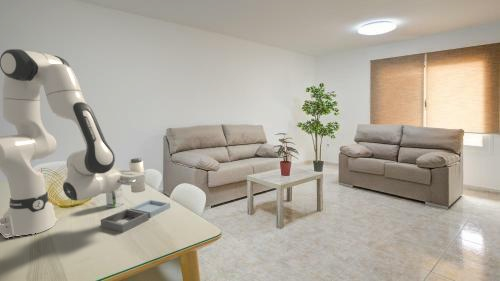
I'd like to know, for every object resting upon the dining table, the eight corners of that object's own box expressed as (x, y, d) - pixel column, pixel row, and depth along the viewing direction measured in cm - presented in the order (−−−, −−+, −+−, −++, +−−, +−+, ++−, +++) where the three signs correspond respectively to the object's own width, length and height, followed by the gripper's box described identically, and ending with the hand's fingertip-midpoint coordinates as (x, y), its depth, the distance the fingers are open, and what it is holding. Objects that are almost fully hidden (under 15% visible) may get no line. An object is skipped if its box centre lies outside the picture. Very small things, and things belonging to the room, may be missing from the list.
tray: (130, 213, 125) (130, 208, 125) (151, 204, 137) (150, 199, 136) (150, 217, 120) (150, 212, 120) (170, 207, 131) (170, 203, 131)
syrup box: (106, 206, 134) (103, 178, 133) (116, 202, 140) (113, 175, 138) (114, 208, 132) (112, 179, 130) (124, 203, 138) (122, 176, 136)
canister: (128, 191, 119) (126, 159, 117) (139, 188, 124) (136, 157, 122) (137, 193, 116) (135, 160, 114) (147, 189, 121) (145, 158, 119)
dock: (101, 226, 111) (100, 219, 111) (127, 215, 123) (127, 208, 123) (123, 232, 106) (122, 225, 105) (148, 219, 117) (148, 213, 117)
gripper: (127, 175, 102) (155, 167, 115) (93, 170, 112) (122, 163, 124) (128, 191, 103) (156, 181, 115) (95, 185, 112) (123, 177, 125)
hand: (138, 172), depth 120 cm, fingers closed on canister, 6 cm apart
